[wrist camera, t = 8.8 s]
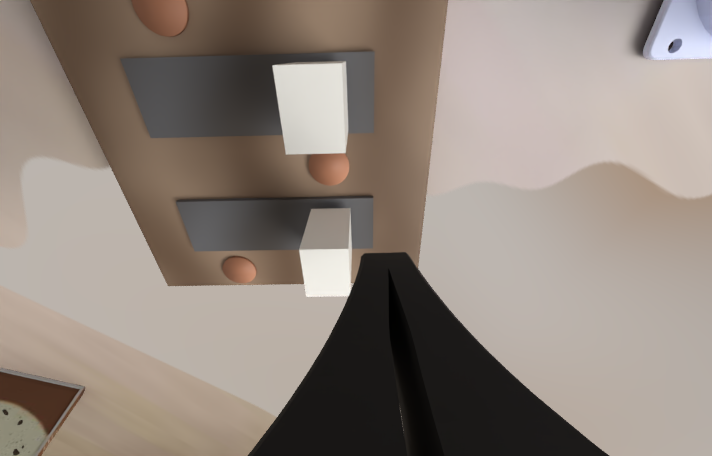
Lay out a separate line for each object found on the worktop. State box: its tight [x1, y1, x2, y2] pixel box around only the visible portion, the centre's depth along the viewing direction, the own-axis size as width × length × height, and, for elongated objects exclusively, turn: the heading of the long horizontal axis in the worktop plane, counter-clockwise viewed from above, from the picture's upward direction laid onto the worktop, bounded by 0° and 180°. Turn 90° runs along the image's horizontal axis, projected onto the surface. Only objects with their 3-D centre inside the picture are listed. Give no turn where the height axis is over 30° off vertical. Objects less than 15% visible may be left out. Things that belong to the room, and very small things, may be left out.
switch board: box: [30, 0, 448, 286], centre depth 13 cm, size 16×22×2 cm
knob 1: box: [272, 61, 348, 155], centre depth 10 cm, size 2×3×4 cm
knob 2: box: [299, 208, 352, 297], centre depth 14 cm, size 2×3×4 cm
